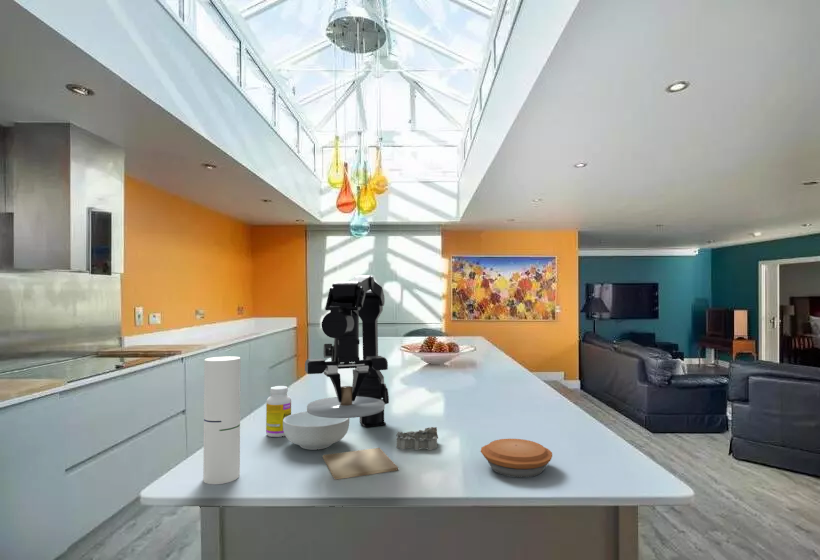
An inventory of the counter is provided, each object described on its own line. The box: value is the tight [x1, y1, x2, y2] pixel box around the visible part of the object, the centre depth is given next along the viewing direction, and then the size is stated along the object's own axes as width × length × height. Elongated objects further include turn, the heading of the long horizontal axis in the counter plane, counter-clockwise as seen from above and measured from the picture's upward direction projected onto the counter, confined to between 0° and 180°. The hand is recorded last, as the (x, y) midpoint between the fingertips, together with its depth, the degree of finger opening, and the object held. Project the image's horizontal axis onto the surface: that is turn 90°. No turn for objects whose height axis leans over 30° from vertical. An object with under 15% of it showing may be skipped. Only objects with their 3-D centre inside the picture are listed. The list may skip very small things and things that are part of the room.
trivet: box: [322, 447, 399, 480], centre depth 105 cm, size 14×14×1 cm
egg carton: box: [396, 426, 439, 451], centre depth 118 cm, size 11×8×4 cm
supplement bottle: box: [265, 385, 292, 438], centre depth 128 cm, size 7×7×13 cm
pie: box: [480, 438, 553, 478], centre depth 103 cm, size 15×16×5 cm
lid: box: [306, 385, 386, 419], centre depth 109 cm, size 18×18×5 cm
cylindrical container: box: [202, 355, 241, 485], centre depth 98 cm, size 7×7×25 cm
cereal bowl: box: [283, 410, 350, 451], centre depth 119 cm, size 17×17×7 cm
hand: (346, 401), depth 109 cm, fingers closed on lid, 3 cm apart
